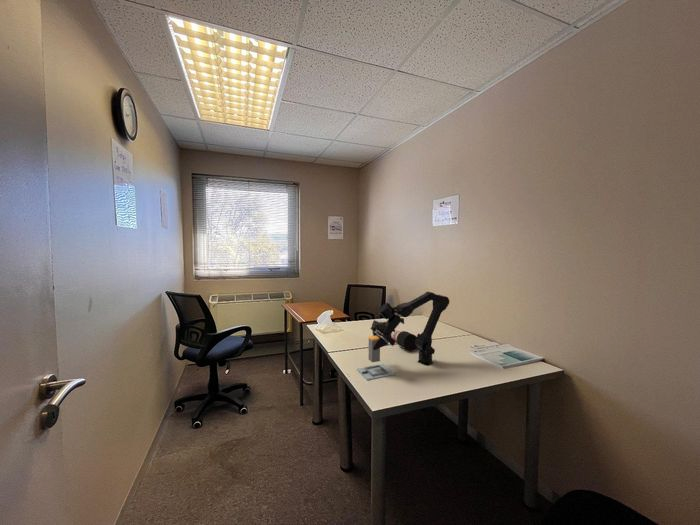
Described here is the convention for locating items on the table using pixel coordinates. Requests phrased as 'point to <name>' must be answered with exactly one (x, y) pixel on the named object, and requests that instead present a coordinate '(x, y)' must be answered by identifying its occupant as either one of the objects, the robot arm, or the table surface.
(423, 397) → the table surface
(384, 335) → the robot arm
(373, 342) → the brick
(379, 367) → the charging dock
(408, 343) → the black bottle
